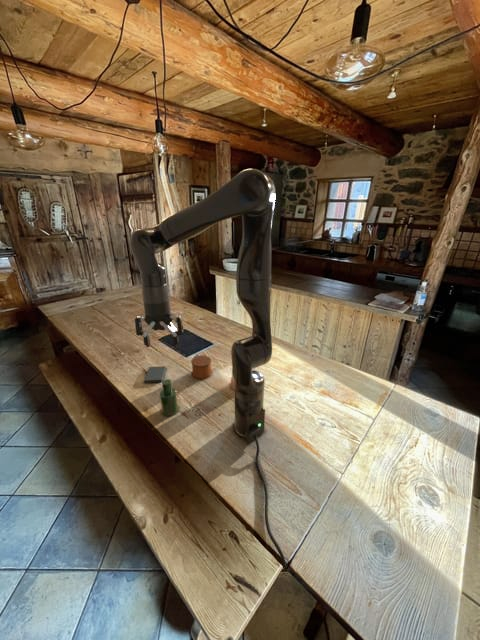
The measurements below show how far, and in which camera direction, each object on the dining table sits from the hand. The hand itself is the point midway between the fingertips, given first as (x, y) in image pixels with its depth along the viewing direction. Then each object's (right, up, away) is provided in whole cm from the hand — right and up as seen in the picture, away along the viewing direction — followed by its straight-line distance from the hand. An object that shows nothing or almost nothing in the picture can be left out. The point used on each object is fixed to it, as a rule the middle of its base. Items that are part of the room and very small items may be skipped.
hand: (162, 345), depth 86 cm
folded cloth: (-11, -16, +29) cm, 35 cm away
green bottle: (0, -24, +10) cm, 26 cm away
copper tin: (+9, -15, +31) cm, 35 cm away
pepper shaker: (+25, -19, +23) cm, 39 cm away
